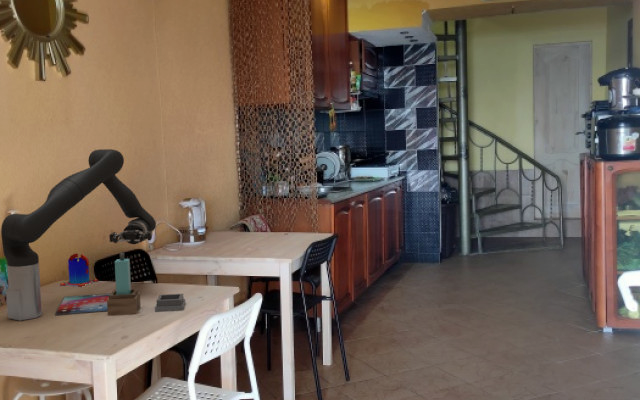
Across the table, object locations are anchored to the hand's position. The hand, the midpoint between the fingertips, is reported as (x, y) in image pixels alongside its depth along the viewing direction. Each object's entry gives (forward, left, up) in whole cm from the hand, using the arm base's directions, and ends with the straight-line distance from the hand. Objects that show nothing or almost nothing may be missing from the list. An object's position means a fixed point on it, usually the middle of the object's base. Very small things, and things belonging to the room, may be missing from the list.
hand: (127, 239), depth 220 cm
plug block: (-9, -7, -17) cm, 20 cm away
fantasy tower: (+12, +39, -22) cm, 47 cm away
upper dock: (-9, -7, -22) cm, 25 cm away
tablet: (-8, +11, -22) cm, 27 cm away
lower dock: (+1, -18, -22) cm, 28 cm away
